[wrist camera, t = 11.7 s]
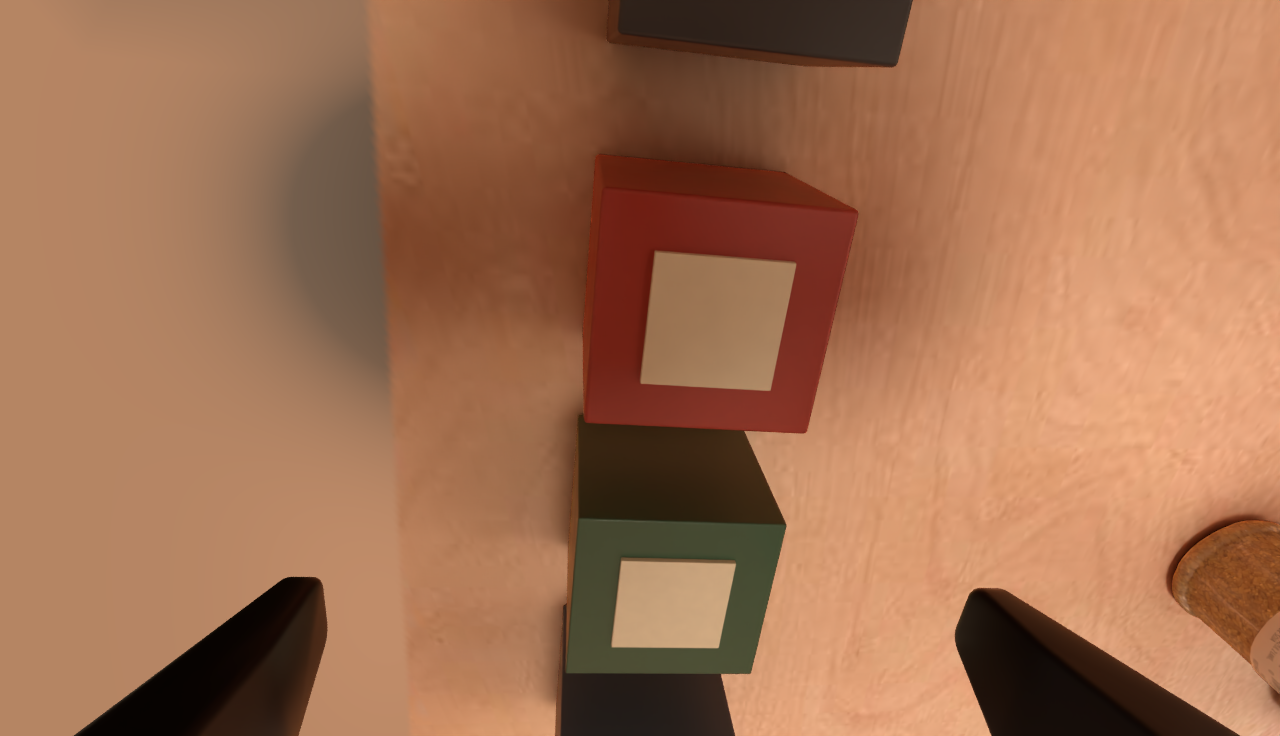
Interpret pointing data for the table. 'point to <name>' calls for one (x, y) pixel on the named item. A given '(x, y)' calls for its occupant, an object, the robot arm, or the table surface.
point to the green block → (668, 551)
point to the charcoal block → (767, 29)
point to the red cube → (708, 295)
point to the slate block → (639, 703)
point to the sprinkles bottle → (1237, 591)
